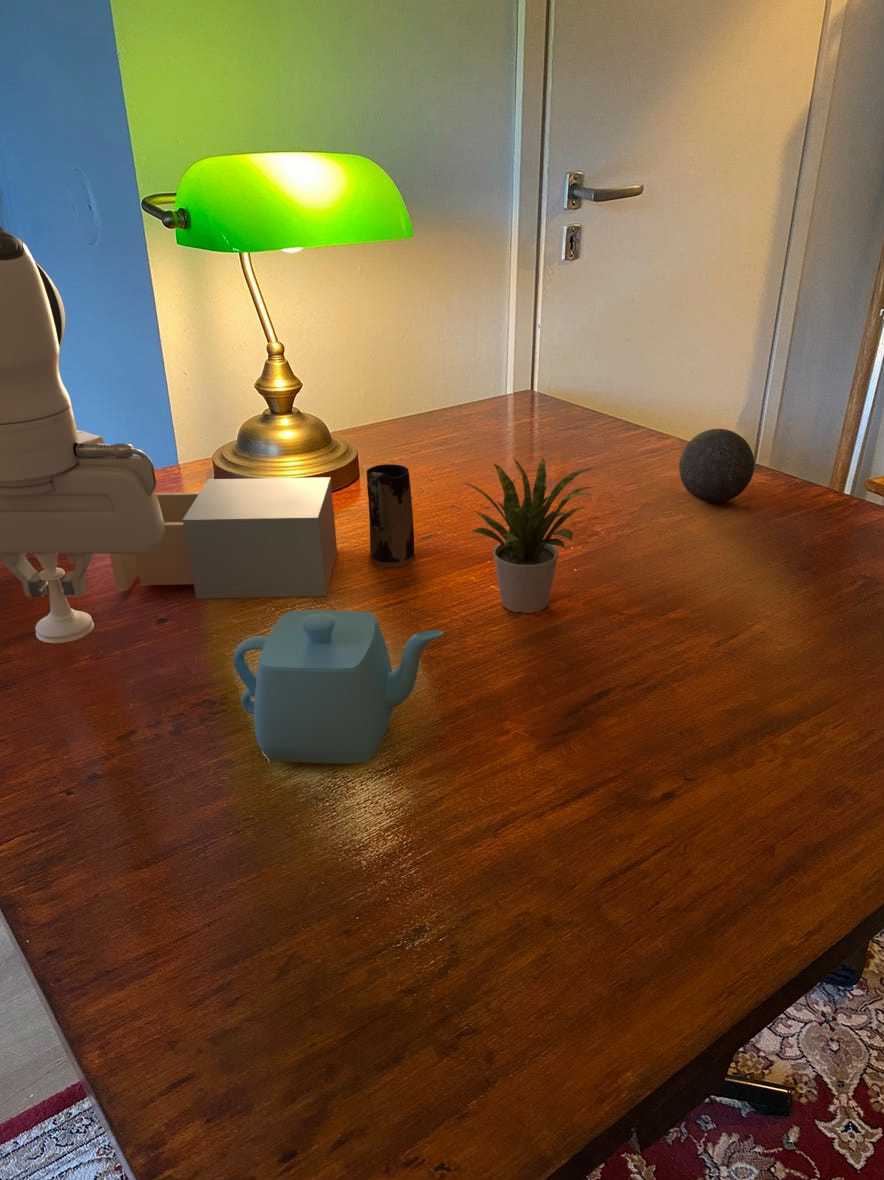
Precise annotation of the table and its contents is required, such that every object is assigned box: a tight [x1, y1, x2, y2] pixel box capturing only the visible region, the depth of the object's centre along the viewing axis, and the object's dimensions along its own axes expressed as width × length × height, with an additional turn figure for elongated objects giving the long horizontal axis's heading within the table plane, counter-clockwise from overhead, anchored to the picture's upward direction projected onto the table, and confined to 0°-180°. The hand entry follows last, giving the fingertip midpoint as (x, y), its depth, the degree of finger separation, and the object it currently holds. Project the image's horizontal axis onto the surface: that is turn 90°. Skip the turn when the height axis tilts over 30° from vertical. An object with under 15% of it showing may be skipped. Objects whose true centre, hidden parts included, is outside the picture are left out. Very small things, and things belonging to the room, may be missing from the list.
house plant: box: [462, 456, 595, 614], centre depth 100 cm, size 14×14×16 cm
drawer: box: [109, 491, 200, 592], centre depth 109 cm, size 18×11×8 cm, turn 92°
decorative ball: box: [678, 428, 755, 504], centre depth 129 cm, size 10×10×10 cm
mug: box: [366, 463, 416, 568], centre depth 111 cm, size 8×6×12 cm
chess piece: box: [33, 554, 95, 644], centre depth 83 cm, size 5×5×10 cm
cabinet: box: [182, 476, 338, 600], centre depth 109 cm, size 15×13×10 cm
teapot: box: [232, 609, 444, 764], centre depth 80 cm, size 12×18×12 cm
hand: (57, 594), depth 83 cm, fingers closed on chess piece
